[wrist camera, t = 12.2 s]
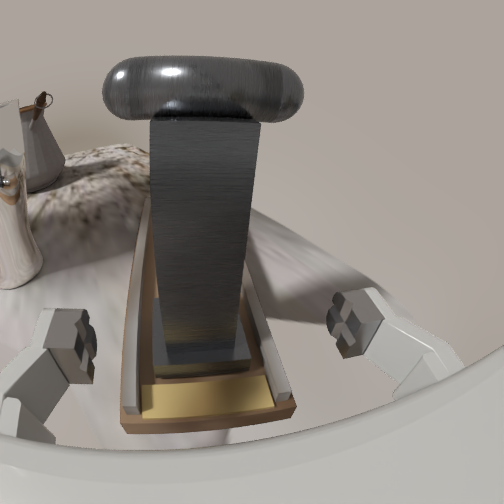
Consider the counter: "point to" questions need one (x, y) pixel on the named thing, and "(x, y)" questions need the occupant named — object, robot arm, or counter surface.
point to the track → (195, 387)
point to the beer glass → (14, 204)
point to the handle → (201, 193)
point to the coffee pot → (39, 146)
